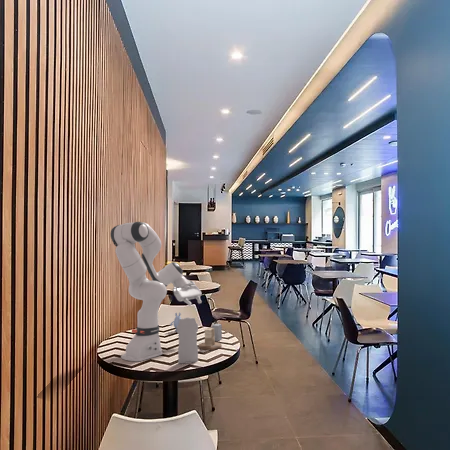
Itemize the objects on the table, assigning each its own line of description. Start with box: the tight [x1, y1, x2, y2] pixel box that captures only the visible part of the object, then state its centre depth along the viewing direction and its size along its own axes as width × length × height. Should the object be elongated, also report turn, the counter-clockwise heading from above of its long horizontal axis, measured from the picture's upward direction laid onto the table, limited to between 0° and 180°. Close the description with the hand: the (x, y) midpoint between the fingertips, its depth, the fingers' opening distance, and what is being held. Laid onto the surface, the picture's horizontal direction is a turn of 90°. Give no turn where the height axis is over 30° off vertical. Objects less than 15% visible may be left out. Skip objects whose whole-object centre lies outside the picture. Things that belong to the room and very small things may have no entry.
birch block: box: [204, 327, 216, 346], centre depth 217 cm, size 4×4×9 cm
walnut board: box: [197, 341, 222, 351], centre depth 217 cm, size 13×13×1 cm
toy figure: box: [169, 312, 182, 332], centre depth 255 cm, size 11×6×12 cm, turn 107°
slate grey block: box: [211, 323, 223, 342], centre depth 231 cm, size 4×4×9 cm
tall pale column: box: [176, 317, 199, 365], centre depth 192 cm, size 11×4×22 cm, turn 106°
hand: (195, 303), depth 228 cm, fingers open, 8 cm apart
